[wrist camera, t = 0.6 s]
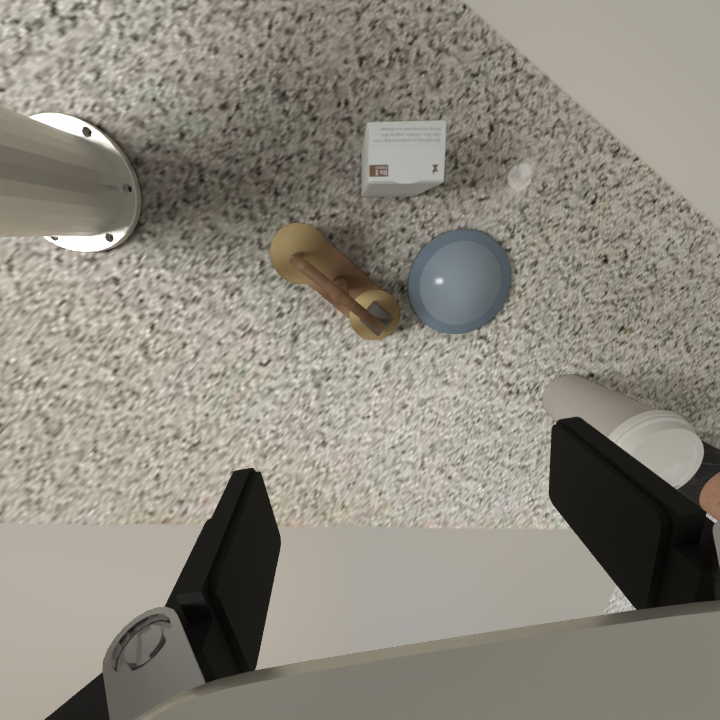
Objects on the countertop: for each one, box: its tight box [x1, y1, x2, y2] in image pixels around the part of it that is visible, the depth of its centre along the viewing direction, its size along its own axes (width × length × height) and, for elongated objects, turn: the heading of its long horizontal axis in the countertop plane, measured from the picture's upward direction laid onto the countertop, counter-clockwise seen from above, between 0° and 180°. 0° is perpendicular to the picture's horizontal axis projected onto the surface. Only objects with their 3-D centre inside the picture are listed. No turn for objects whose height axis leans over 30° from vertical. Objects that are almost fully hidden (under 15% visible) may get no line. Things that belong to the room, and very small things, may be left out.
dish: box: [408, 229, 511, 334], centre depth 40 cm, size 12×12×1 cm
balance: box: [270, 223, 400, 340], centre depth 34 cm, size 16×6×12 cm, turn 49°
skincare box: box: [361, 120, 447, 197], centre depth 31 cm, size 6×4×12 cm
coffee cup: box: [542, 375, 704, 489], centre depth 40 cm, size 10×10×15 cm
